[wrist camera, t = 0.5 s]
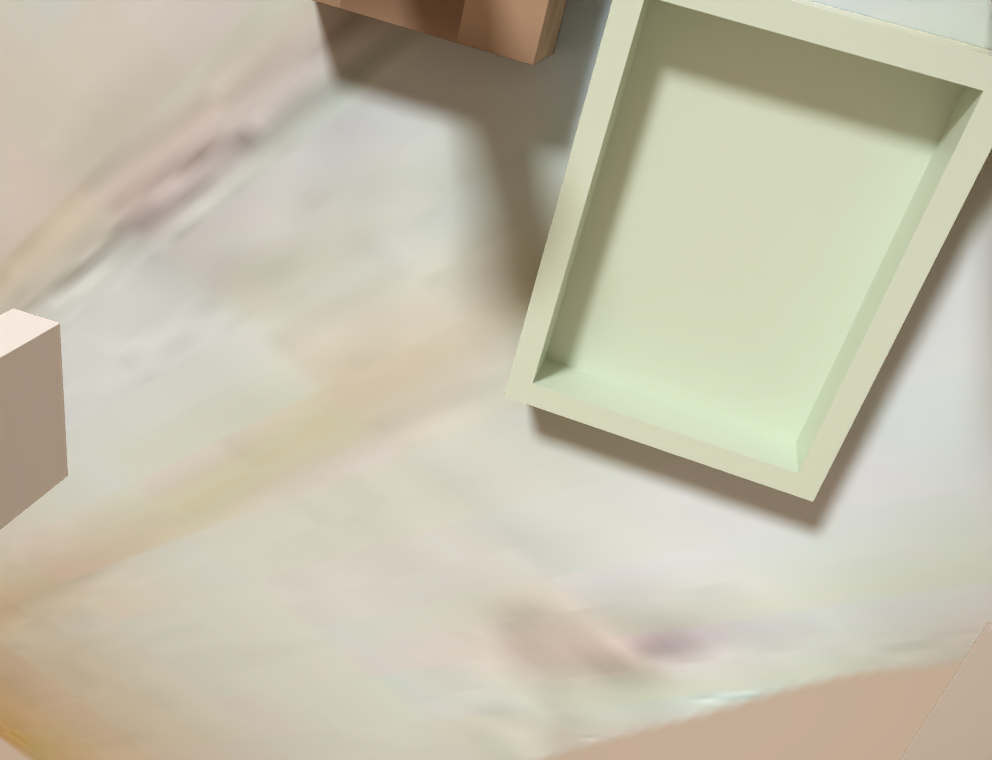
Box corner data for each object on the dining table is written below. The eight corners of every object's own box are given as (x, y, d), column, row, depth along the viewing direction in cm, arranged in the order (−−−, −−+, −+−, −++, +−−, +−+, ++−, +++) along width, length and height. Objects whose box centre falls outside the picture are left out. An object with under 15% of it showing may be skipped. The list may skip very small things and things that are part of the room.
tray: (636, -48, 32) (624, -45, 29) (1009, 54, 31) (1032, 67, 28) (521, 365, 40) (503, 396, 38) (809, 462, 39) (812, 501, 36)
